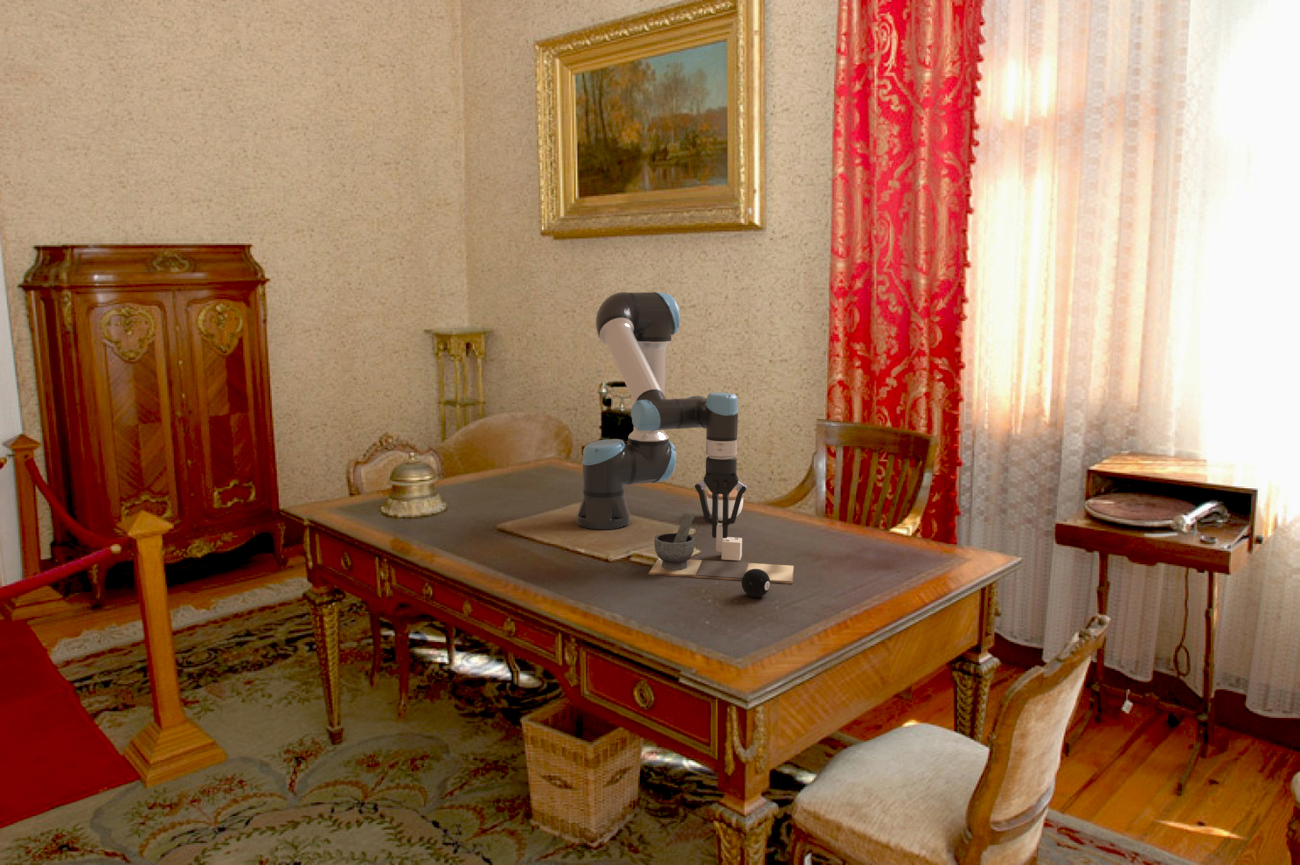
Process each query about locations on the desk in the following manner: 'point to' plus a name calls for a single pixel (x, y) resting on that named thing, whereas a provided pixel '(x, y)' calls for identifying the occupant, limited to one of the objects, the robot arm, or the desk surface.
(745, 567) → the board
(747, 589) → the billiard ball
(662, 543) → the mortar and pestle
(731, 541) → the cream white block
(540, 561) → the desk surface
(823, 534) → the desk surface
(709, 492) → the lidded jar
